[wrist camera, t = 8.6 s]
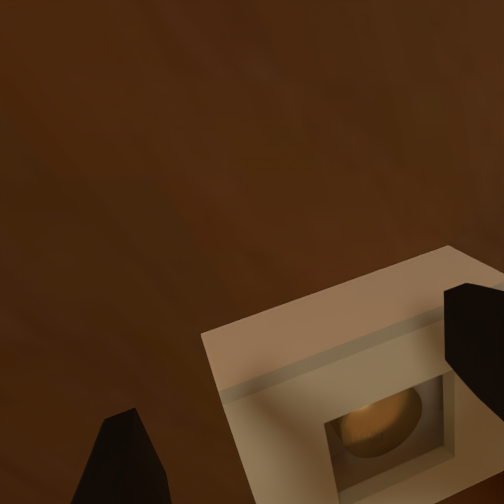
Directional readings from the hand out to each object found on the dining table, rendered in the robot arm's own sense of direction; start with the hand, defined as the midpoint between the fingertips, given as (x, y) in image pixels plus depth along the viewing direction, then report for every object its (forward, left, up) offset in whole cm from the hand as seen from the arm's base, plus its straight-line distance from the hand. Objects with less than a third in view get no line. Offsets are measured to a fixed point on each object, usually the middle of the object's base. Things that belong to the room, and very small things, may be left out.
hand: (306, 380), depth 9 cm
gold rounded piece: (-5, +11, -10) cm, 15 cm away
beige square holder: (-5, +11, -10) cm, 16 cm away
